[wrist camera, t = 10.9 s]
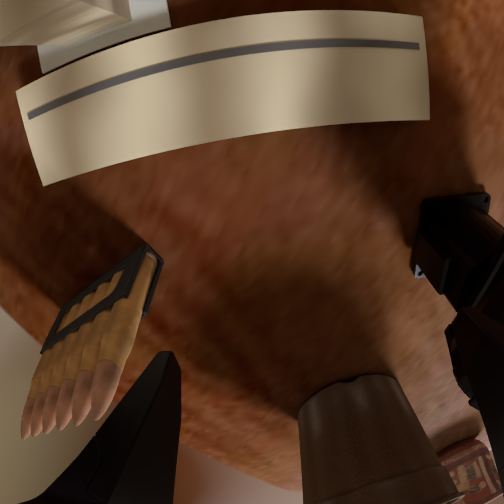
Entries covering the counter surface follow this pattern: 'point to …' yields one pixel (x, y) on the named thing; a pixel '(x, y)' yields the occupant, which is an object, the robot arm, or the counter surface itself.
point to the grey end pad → (109, 34)
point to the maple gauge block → (58, 20)
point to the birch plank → (226, 86)
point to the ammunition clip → (90, 345)
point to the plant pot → (368, 448)
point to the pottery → (472, 471)
